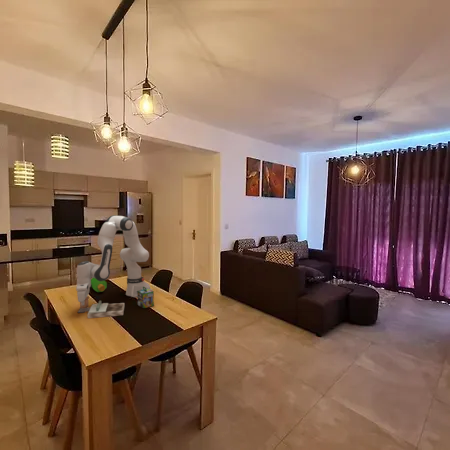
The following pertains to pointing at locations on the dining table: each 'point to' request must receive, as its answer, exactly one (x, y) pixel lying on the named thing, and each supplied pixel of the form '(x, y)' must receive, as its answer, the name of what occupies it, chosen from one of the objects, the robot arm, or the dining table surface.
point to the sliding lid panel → (98, 307)
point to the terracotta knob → (85, 303)
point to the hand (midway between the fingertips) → (84, 303)
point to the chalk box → (145, 298)
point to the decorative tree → (98, 285)
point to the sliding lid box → (109, 311)
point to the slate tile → (83, 310)
